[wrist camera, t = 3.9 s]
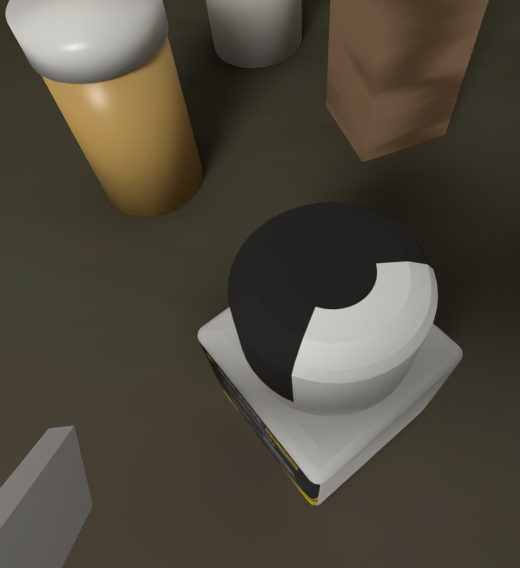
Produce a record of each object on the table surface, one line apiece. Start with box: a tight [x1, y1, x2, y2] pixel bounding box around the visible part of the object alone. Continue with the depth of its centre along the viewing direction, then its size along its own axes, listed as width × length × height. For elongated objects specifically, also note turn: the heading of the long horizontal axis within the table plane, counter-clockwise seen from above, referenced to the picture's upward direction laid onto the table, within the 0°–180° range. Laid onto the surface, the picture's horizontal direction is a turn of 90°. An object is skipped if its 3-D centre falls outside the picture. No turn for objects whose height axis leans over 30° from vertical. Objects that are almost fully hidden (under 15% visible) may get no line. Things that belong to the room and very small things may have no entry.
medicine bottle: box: [198, 202, 462, 505], centre depth 18 cm, size 7×7×12 cm
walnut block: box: [326, 0, 489, 162], centre depth 28 cm, size 6×6×11 cm
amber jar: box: [6, 0, 203, 217], centre depth 27 cm, size 7×7×12 cm
